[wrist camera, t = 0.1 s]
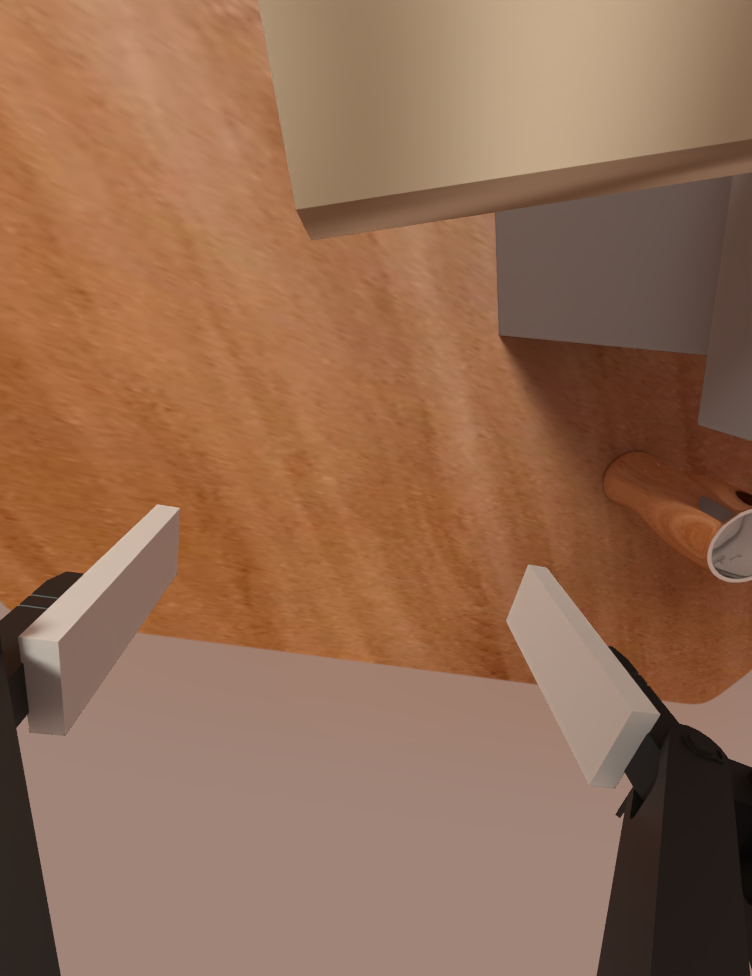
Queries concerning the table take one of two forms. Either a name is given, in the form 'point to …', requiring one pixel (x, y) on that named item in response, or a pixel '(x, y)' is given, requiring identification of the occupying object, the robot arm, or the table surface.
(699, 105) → the wooden bar
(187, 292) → the table surface
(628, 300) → the grey stand
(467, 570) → the table surface
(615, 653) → the robot arm
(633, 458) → the beer glass
